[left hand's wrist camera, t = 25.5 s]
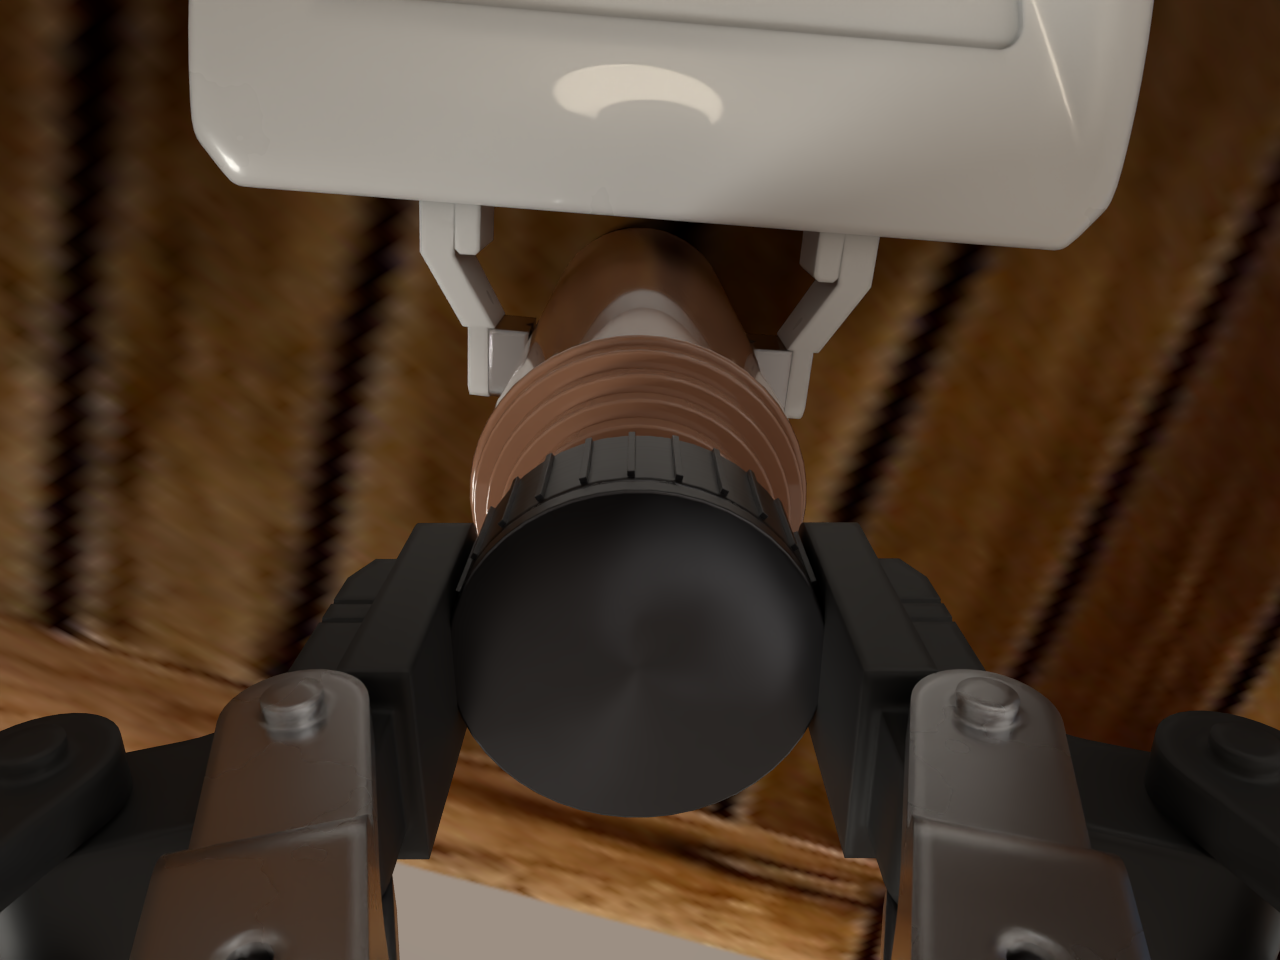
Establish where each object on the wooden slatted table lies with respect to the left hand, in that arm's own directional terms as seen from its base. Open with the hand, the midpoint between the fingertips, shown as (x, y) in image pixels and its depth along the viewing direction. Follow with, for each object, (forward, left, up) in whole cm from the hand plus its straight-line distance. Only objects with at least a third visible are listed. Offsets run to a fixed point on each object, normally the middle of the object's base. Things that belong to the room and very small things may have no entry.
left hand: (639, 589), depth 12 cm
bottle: (0, 0, -18) cm, 18 cm away
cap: (0, 0, +2) cm, 2 cm away
